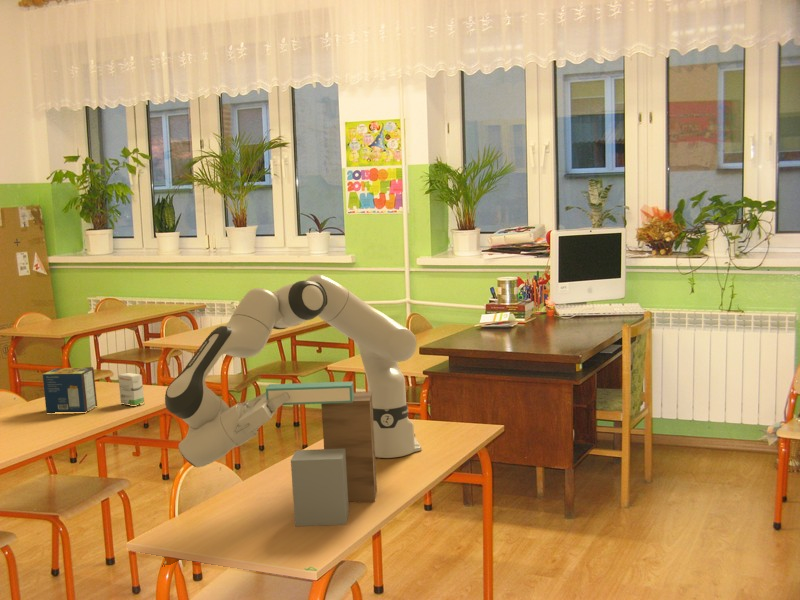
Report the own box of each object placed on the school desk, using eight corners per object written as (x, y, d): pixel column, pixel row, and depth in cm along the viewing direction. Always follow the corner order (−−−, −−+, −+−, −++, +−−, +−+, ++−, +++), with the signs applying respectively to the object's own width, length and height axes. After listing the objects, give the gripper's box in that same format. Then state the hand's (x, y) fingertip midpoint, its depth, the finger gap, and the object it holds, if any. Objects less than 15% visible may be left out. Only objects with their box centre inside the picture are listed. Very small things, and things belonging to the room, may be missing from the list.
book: (270, 400, 211) (269, 384, 211) (353, 397, 211) (353, 381, 210) (266, 405, 207) (265, 388, 206) (352, 402, 206) (351, 385, 206)
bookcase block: (331, 490, 232) (325, 393, 228) (377, 489, 231) (371, 391, 228) (327, 503, 223) (321, 402, 220) (374, 501, 222) (369, 400, 219)
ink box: (145, 404, 337) (142, 374, 335) (134, 407, 333) (131, 376, 332) (131, 402, 342) (128, 372, 341) (120, 404, 338) (117, 374, 337)
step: (299, 513, 217) (295, 450, 215) (348, 512, 216) (345, 448, 214) (295, 526, 209) (290, 460, 207) (345, 524, 208) (342, 458, 206)
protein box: (59, 407, 338) (55, 367, 336) (97, 406, 337) (94, 366, 335) (45, 415, 328) (41, 373, 326) (85, 414, 326) (81, 372, 324)
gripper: (224, 423, 199) (275, 391, 198) (243, 401, 220) (289, 372, 218) (239, 446, 200) (290, 414, 199) (257, 422, 220) (303, 393, 219)
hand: (290, 392), depth 209 cm, fingers closed on book, 5 cm apart
